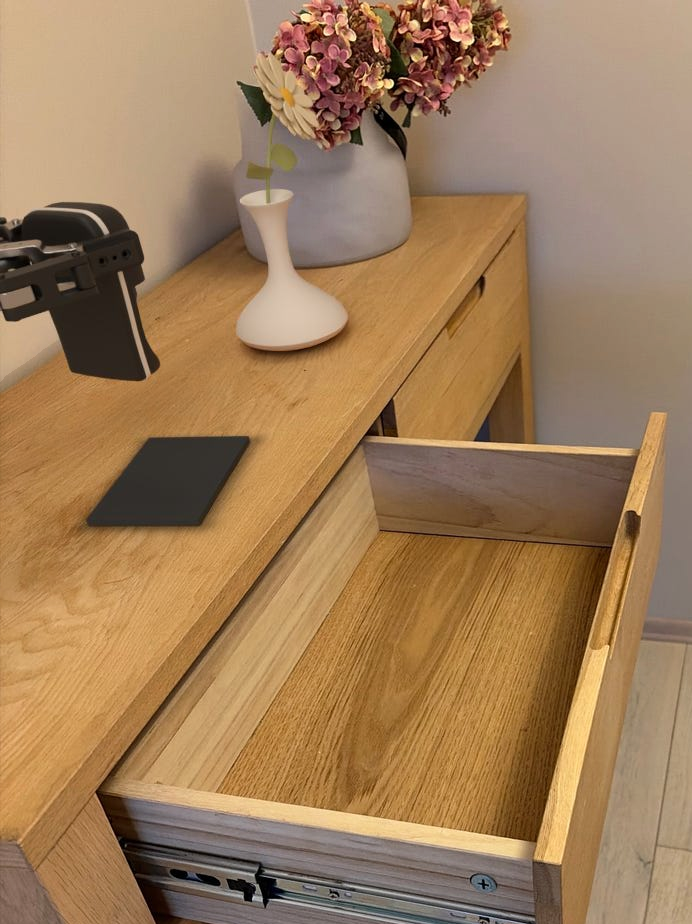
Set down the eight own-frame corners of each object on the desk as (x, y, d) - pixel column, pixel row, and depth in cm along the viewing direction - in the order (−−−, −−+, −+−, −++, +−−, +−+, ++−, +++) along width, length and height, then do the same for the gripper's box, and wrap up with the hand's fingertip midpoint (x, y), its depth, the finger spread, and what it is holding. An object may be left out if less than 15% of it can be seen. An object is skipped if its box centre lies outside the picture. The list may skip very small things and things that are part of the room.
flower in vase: (302, 369, 94) (242, 75, 79) (216, 351, 100) (143, 71, 84) (382, 320, 103) (342, 44, 87) (298, 305, 108) (246, 42, 92)
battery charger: (177, 364, 71) (131, 198, 64) (144, 386, 69) (92, 215, 62) (102, 355, 74) (50, 194, 67) (67, 376, 71) (9, 210, 64)
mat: (88, 526, 75) (85, 519, 75) (150, 443, 85) (148, 437, 85) (199, 526, 74) (197, 519, 74) (250, 441, 84) (248, 435, 83)
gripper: (-133, 268, 52) (146, 191, 60) (-206, 222, 60) (47, 160, 69) (-72, 400, 57) (179, 312, 65) (-148, 340, 65) (82, 269, 73)
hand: (110, 234), depth 67 cm, fingers closed on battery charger, 7 cm apart
